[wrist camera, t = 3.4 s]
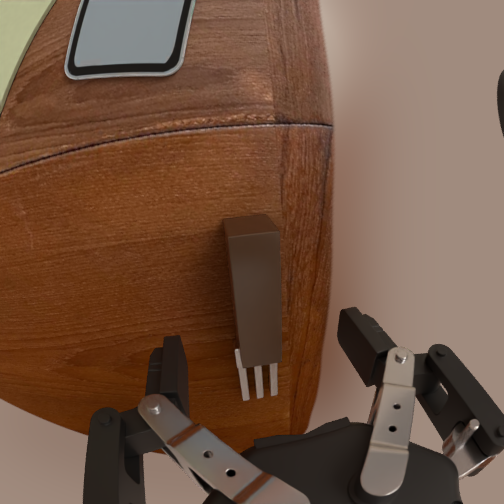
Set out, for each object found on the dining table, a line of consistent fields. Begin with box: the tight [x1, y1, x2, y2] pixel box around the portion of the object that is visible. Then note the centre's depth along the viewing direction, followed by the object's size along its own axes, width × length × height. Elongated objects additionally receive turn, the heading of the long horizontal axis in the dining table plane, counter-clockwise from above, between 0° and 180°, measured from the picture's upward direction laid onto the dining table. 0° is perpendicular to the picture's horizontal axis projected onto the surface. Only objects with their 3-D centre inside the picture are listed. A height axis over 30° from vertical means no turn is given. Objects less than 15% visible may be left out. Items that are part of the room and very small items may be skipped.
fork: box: [223, 214, 282, 401], centre depth 19 cm, size 15×3×3 cm, turn 4°
